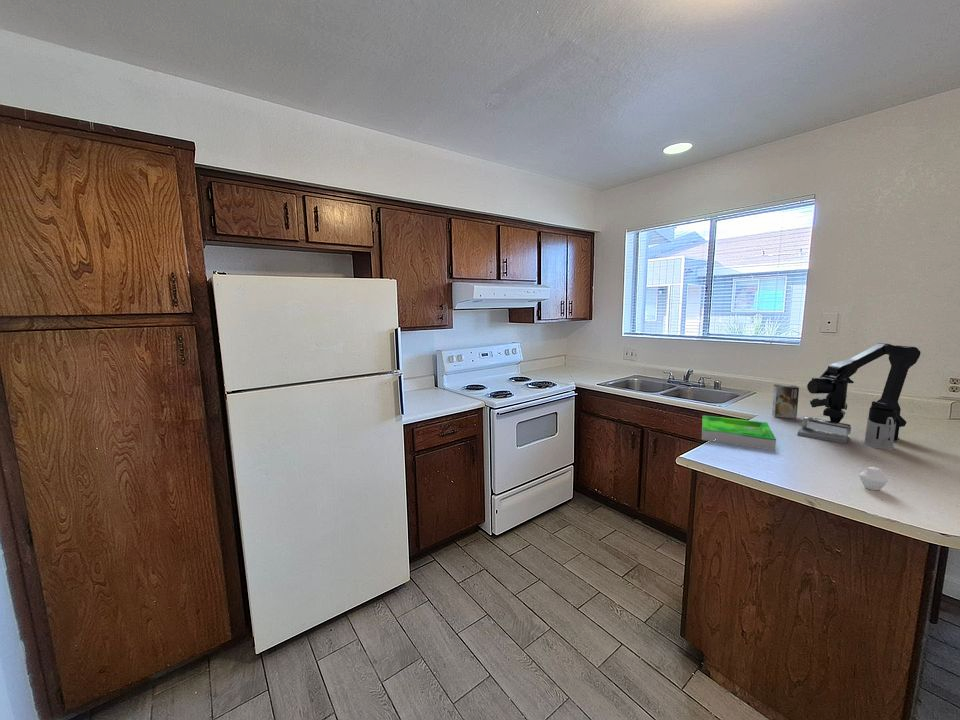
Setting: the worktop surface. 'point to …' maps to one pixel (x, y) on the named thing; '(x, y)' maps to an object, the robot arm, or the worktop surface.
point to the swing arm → (826, 426)
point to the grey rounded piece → (880, 428)
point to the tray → (738, 432)
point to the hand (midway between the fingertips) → (833, 428)
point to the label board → (823, 435)
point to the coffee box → (785, 401)
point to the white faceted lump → (873, 478)
